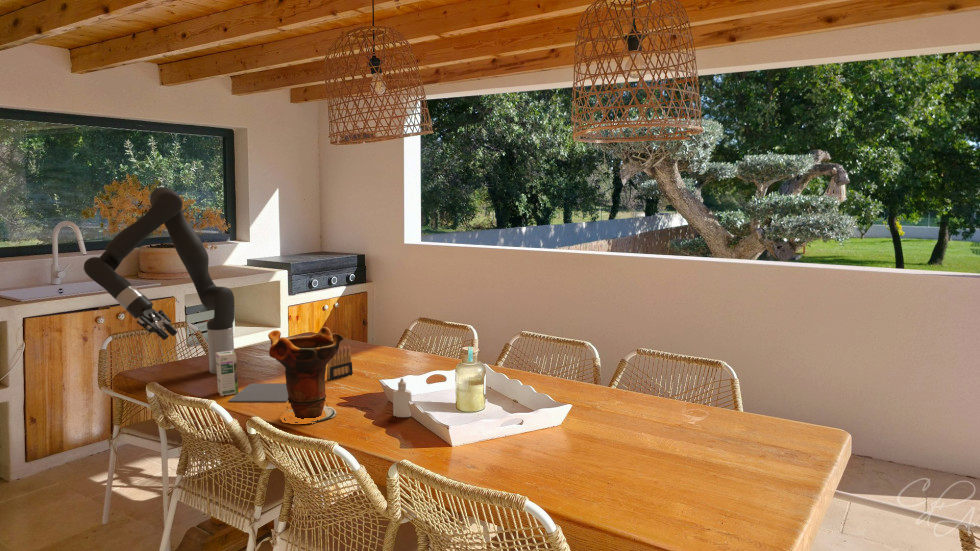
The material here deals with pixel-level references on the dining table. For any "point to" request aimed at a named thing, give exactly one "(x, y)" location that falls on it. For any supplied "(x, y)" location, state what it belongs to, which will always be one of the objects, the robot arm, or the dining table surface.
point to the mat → (262, 393)
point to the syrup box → (227, 373)
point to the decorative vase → (306, 369)
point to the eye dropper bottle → (401, 400)
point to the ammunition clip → (340, 364)
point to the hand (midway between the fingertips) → (171, 336)
